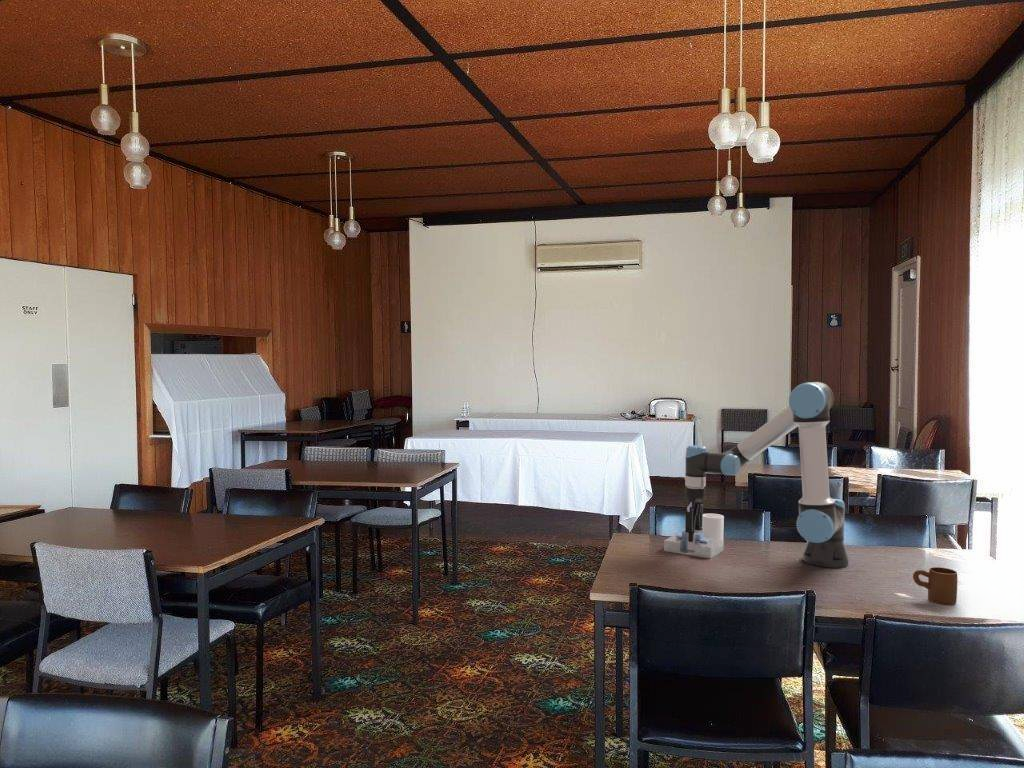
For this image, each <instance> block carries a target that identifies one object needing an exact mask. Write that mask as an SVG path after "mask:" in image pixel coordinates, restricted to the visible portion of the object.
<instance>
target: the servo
mask: <svg viewBox="0 0 1024 768" xmlns="http://www.w3.org/2000/svg"><path fill="white" fill-rule="evenodd" d="M678 533H679V534H677V533H676V534H677V535H676V537H679V538H682V540H684V550H687V546H688V533H687V532H685V530H684V531H681V534H680V532H678ZM694 533H696V535H695V545H696V544H697V543H703V542H706V543H707V542H708V541H710V539H708V538H703V537H704V533H700V532H694ZM690 551H693V550H690Z"/></svg>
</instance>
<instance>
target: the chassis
mask: <svg viewBox="0 0 1024 768" xmlns="http://www.w3.org/2000/svg"><path fill="white" fill-rule="evenodd" d="M679 533H680V532H677V533H675V534H673V535H672V536H670V537H668V538H666V539H664V541H663V552H669V553H675V554H680V555H687V556H693V557H698V558H699V557H700V558H703V559H704V558H705V559H710V560H711V559H713V558H715V556H717V555H718V554H720V553H722V552H723V551H724V546H725V545H724V543H725V542H724V541H725V539H723V540H721V539H715V538H708V537H707V538H708V539H710V541H708V542H707V543H706V542H703V543H697V544H696V545H695V546H694V551H690V550H684V540H682V538H679V537H676V535H677V534H679ZM680 534H682V532H681V533H680Z"/></svg>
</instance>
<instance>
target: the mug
mask: <svg viewBox="0 0 1024 768" xmlns="http://www.w3.org/2000/svg"><path fill="white" fill-rule="evenodd" d="M920 575H921V576H923V577H926V578H928V580H927V581H926V580H922V579H920V577H919V576H920ZM912 578H913V582H914V583H915V584H916V585H918V586H920V587H923V588H926V590H927V599H928V600H929V601H931V602H932V603H934V604H939V605H945V606H947V605H948V606H949V605H950V606H952V605H953V606H954V605H955V604H956V603H957V599H958V581H959V580H958V578H959V577H958V572H957V571H956V570H954V569H951V568H946V567H940V566H939V567H938V566H937V567H935V566H934V567H930V568H929V569H928V571H926V570H924V569H916V570H915V571H914V572H913V574H912Z"/></svg>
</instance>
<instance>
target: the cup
mask: <svg viewBox="0 0 1024 768" xmlns="http://www.w3.org/2000/svg"><path fill="white" fill-rule="evenodd" d="M724 520H725V516H724V515H722V514H718V513H703V519H702V530H699V531H700V533H704V537H703V538H707V537H708V538H715V539H721V540H724V529H725V527H724V524H725V523H724V522H725V521H724Z"/></svg>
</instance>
